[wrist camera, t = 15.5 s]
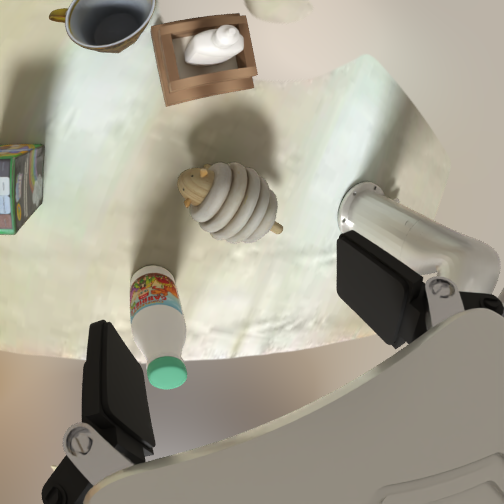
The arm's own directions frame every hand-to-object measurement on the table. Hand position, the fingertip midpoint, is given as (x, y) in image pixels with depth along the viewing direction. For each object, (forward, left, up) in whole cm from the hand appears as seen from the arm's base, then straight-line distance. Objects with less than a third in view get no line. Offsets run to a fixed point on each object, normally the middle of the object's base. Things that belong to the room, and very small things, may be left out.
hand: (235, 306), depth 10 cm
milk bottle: (+8, +18, -32) cm, 38 cm away
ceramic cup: (+4, -22, -32) cm, 39 cm away
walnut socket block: (-8, -14, -32) cm, 36 cm away
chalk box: (+22, -7, -33) cm, 40 cm away
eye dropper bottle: (-8, -14, -30) cm, 34 cm away
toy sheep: (-7, +7, -33) cm, 34 cm away
